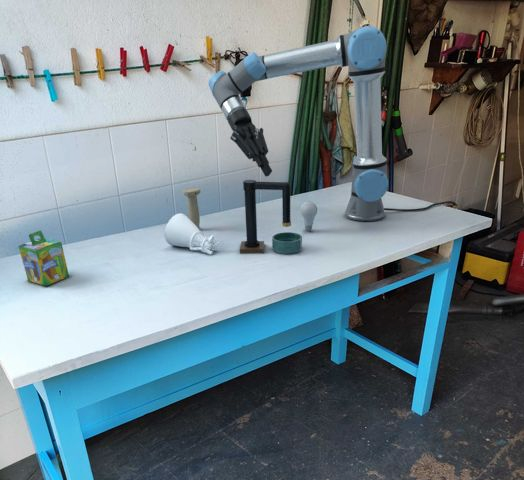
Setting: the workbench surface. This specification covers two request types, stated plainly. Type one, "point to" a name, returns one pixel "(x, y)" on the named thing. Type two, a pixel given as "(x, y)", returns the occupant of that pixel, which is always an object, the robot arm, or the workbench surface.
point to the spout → (284, 186)
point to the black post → (251, 226)
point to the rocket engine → (188, 235)
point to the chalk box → (43, 260)
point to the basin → (287, 242)
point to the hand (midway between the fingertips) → (268, 173)
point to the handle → (193, 205)
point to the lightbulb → (308, 214)
